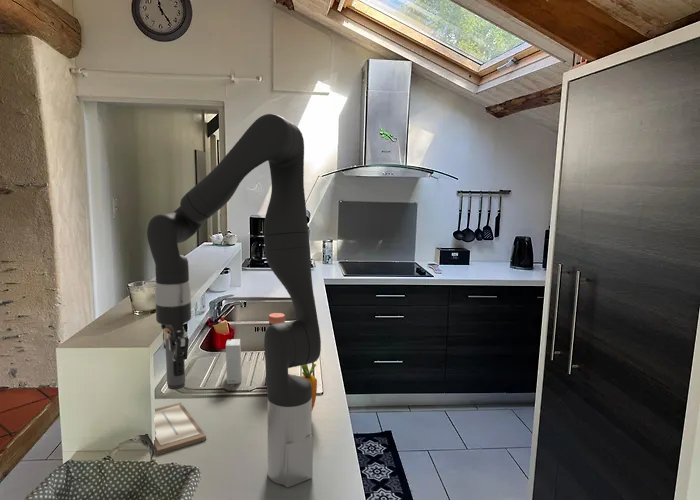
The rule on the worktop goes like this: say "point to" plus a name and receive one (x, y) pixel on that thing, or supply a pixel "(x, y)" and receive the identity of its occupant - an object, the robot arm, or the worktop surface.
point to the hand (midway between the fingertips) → (175, 371)
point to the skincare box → (233, 361)
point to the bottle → (276, 318)
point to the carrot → (310, 380)
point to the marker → (171, 379)
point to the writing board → (175, 428)
